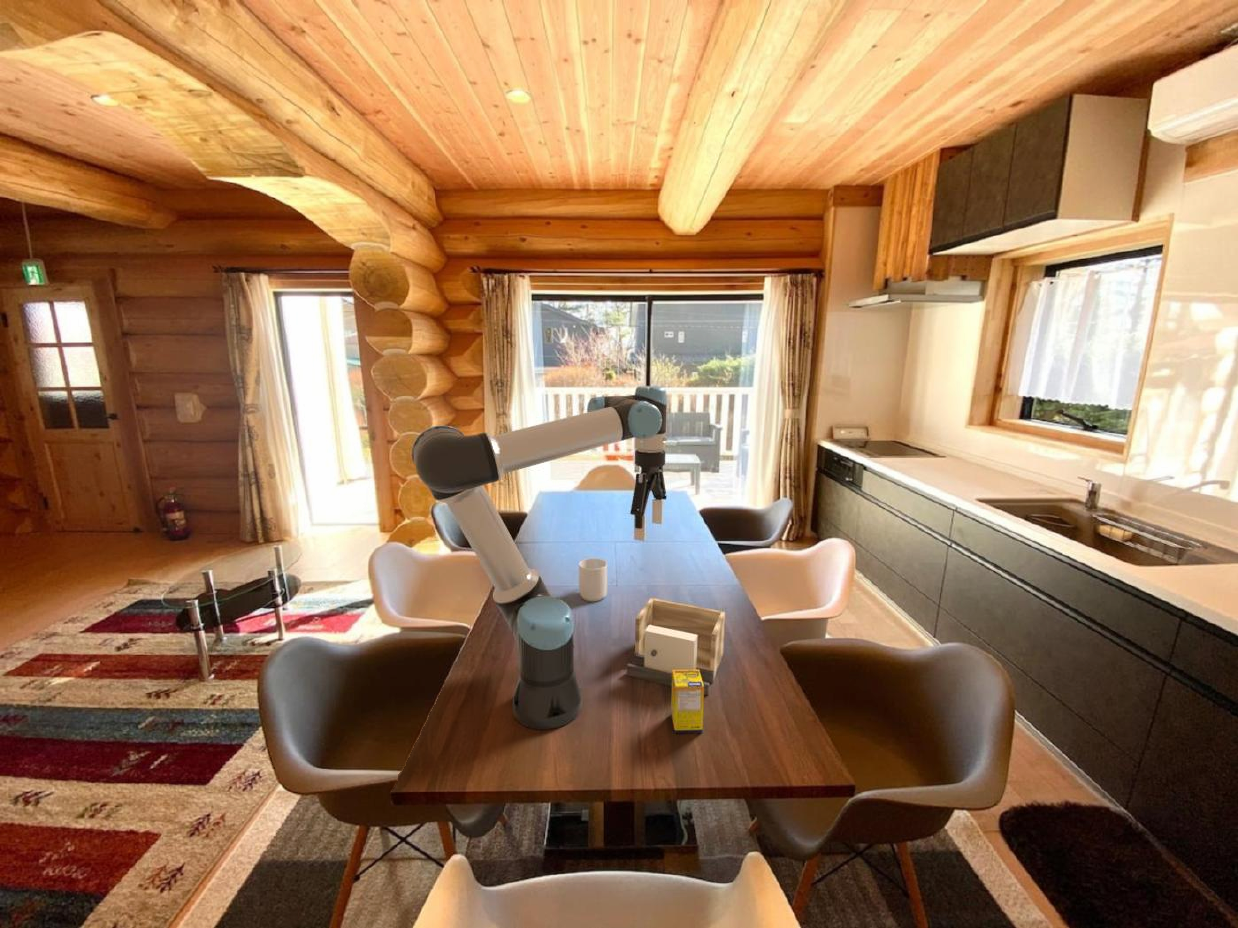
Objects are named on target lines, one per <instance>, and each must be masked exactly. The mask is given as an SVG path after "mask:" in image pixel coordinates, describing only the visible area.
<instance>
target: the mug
mask: <svg viewBox="0 0 1238 928" xmlns="http://www.w3.org/2000/svg"><path fill="white" fill-rule="evenodd" d="M578 589H579V596H580V597H581V598H582V599H583V600H585V601H588V602H598V601H602V600H603V599H605V597H606V596H607V594H608V562H607V561H606V560H604V559H602V558H596V557H595V558H594V557H593V558H586V559H583V560H581V561H580V562H578Z"/></svg>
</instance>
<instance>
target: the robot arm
mask: <svg viewBox="0 0 1238 928" xmlns="http://www.w3.org/2000/svg"><path fill="white" fill-rule="evenodd" d="M667 402H668V401H667V391H666V388H665V387H663V386H656V385H645V386H642V385H641V386H637V387H636V388H635V392H634V394H632V395H608V396H607V395H606V396H605V395H602V396H593V397H591V398H590V399H589V401H588V403H587V407H586V408H587V409H586V412H584V413H580V414H577V415H576V414H575V415H572V416H568V417H564V418H560V419H556V420H552V421H548V422H544V423H539V424H537V425H532V426H529V427H523V428H519V429H515V430H511V431H508V432H504V433H499V434H496V435H493V434H490V433H488V432H482V433H477V434H473V435H472V434H471V435H464V433H463V432H462V431H460V430H459V429H458V428H455V427H453V426H451V425H450V426H448V425H442V424H441V425H434V426H431V427H429V428H427V429H425V430H423V431H422V432H421V433H420V434H419V435H418V436H417V438H416V439H415V440H414V442H413V445H412V447H411V448H412V449H411V458H412V462H413V464H414V466H415V470H416V473H417V476H418V477H419V479H420V480H421V481H422V482H423V484H424V485H426V487H428V489H429V491H430V492H431V493H430V494H431V495H432V496H433V499H434V500H435V501H437V502H441V503H445V504H446V505H447V507H448V509H449V511H450V513H451V514H452V515H453V518H454V519H455V521H456V523H457V525H458V526H459V527H460V528H459V529H461V531H462V533H463V535H464V537H465V539H466V540H467V542H468V543H469V545H470V547H471V549H472V551H473V552H474V554H475V555H476V557H477V559H478V561H479V562H480V564H481V567H482V568H483V570H484V571H485V573H486V574H487V576H488V578H489V580H490V581H491V584H492V585H493V587H494V590H493V593H492V598H493V601H494V602H495V604H496V606H497V607H498V610H499V611H500V612H501V615H502V616H503V618H504V620H505V621H506V623H507V625H508V627H509V629H510V632H511V634H512V635H513V636H512V637H513V638H514V640H515V642H516V645H517V649H518V662H519V663H518V665H519V678H518V681H517V685H516V687H515V691H514V694H513V698H512V712H513V715H514V717H515V718H516V720H517V722H519V723H520V724H521V725H523V726H525V727H528V728H531V729H535V730H551V729H556V728H560V727H562V726H565V725H567V724H569V723H570V722H572V721H574V720H575V719H576V718H577V717H578V715H579V714H580V712H581V711H582V707H583V693H582V689H581V687H580V684H579V681H578V678H577V676H576V674H575V667H574V664H575V661H574V630H575V629H574V627H575V623H574V617H573V612H572V609H571V606H569V604H568V603H567V602H565V601H563V600H562V599H560V598H556V597H554V596H551V594H550V592H549V591H548V589H547V586H546V584H545V583H544V580H543V579H542V577H541V575H540V574H539V572H538V570H536V569H534V568H529V567H528V564H526V561H525V560H524V558H523V556H522V554H521V552H520V550H519V549H518V547H517V545H516V543H515V541H514V539H513V538H512V535H511V534H510V531H509V530H508V527H507V526H506V524H505V523H504V520H503V519H502V516H501V515H500V514H499V511H498V510H497V507H496V506H495V504H494V501H492V499H491V496H490V494H489V493H488V492H487V491H488V490H487V489H486V488H485V485H488V484H492V483H495V482H499V481H500V480H501V479H502V478H503V476H504V474H505V475H506V474H507V473H511V472H515V471H518V470H522V469H525V468H526V469H527V468H529V467H533V466H536V465H540V464H543V463H546V462H551V461H554V460H557V459H561V458H564V457H569V456H572V455H575V454H580V453H583V452H586V451H590V450H593V449H596V448H600V447H604V446H605V447H606V446H608V445H612V444H615V443H619V442H622V441H623V442H624V441H627V440H631V439H634V448H635V449H636V450H635V451H634V464H635V465H636V466H638V467H640V468H641V470H640V473H635V484H634V490H633V496H632V501H631V502H632V503H631V506H630V515H631V516H632V515H633V516H634V517H633V521H634V522H633V523H634V524H633V540H634V541H642V542H645V541H646V533H647V532H646V531H647V530H646V529H647V528H646V527H647V525H646V524H647V520H646V519H647V515H646V514H645V513H646V509H647V505H648V502H649V501H648V500H649V496H650V492H651V493H652V496H653V499H652V504H651V505H652V507H651V508H652V509H651V510H652V511H651V523H652V524H656V525H662V524H663V523H664V522H663V521H664V519H663V515H664V513H663V512H664V500H665V501H666V500H667V497H668V496H667V494H666V493H667V491H666V484H665V478H664V470H663V469H664V466H665V465H666V451H665V450H664V449H666V442H667V441H668V437H667V436H666V435H667V433H666V430H667V407H668V403H667Z"/></svg>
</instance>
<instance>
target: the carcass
mask: <svg viewBox="0 0 1238 928" xmlns="http://www.w3.org/2000/svg"><path fill="white" fill-rule="evenodd" d="M726 612H727V611H723V610H719V609H714V608H713V609H712V608H708V607H702V606H699V605H698V606H696V605H692V604H687V603H681V602H676V601H671V600H664V599H661V598H655V597H650V598H649V600H648V601H647V602H646V604H645V605H644V607H643V608H642V609H641V610H640V612H639V613H638V614H637V616H636V617H635V626H634V627H635V630H634V631H635V635H634V636H635V637H634V638H635V639H634V640H635V642H634V647H635V648H634V649H635V651H634V654H633V663H627V665H626V675H627V676H629V677H634V678H637V679H642V680H646V681H651V682H653V683H654V682H655V683H657V684H661V685H666V686H670V687H672V674H670V673H666V672H662V671H658V670H654V669H650V668H645V667H644V655H645V630H646V628H647V627H648V625H653V626H658V627H662V628H667V629H672V630H677V631H682V632H686V633H691V634H696V635H698V637H697V663H696V670H697V669H699V671H700V674H701V678H702V681H703V685H704V696H709V694H710V685H711V684H713V683H714V681H715V679H716V677H717V672H718V670H719V668H720V665H721V662H722V659H723V656H724V654H725V653H724V652H725V651H724V649H725V648H724V647H725V633H726V631H725V630H726V615H727V614H726Z"/></svg>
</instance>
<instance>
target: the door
mask: <svg viewBox="0 0 1238 928" xmlns="http://www.w3.org/2000/svg"><path fill="white" fill-rule="evenodd" d="M697 637H698V635H696V634H691V633H686V632H682V631H677V630H672V629H667V628H662V627H658V626H653V625H648V627H647V628H646V630H645V655H644V666H643V667H645V668H650V669H654V670H658V671H662V672H666V673H670V674H672V670H696V663H697Z"/></svg>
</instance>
